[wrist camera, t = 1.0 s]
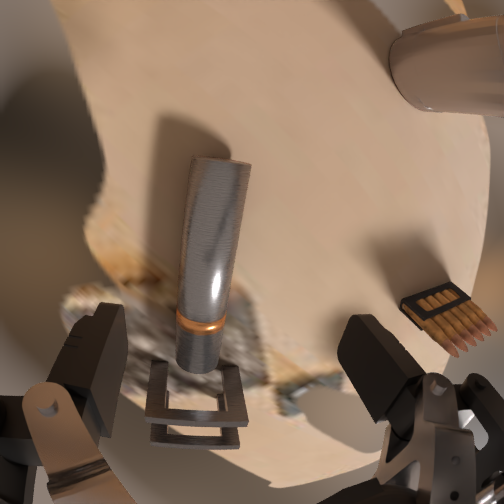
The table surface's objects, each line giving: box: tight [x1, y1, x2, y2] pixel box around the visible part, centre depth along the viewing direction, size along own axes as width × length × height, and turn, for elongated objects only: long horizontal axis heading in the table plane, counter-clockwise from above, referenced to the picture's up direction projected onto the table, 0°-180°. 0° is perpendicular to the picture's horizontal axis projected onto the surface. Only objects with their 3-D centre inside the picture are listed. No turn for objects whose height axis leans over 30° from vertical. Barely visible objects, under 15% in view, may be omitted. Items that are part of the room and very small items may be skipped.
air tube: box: [176, 156, 252, 374], centre depth 24 cm, size 20×5×5 cm, turn 169°
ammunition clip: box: [400, 281, 497, 358], centre depth 28 cm, size 11×2×12 cm, turn 96°
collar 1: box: [145, 360, 249, 427], centre depth 27 cm, size 1×11×8 cm, turn 79°
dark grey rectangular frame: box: [150, 391, 240, 450], centre depth 29 cm, size 1×11×8 cm, turn 79°
